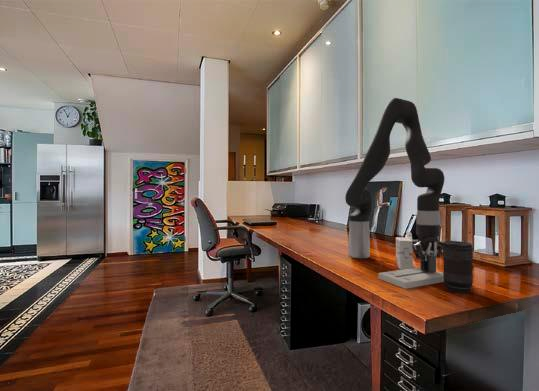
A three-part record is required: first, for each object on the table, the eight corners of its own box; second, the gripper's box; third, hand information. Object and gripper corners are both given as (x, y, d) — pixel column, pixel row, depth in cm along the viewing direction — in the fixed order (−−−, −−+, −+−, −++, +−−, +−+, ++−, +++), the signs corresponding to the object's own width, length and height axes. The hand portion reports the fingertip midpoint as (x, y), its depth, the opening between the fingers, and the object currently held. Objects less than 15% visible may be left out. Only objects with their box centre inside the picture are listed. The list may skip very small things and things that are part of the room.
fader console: (378, 278, 105) (378, 272, 105) (421, 271, 113) (421, 266, 113) (405, 288, 94) (405, 282, 94) (450, 280, 102) (450, 274, 102)
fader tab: (420, 270, 107) (420, 253, 107) (426, 269, 108) (426, 253, 108) (430, 273, 104) (430, 256, 104) (436, 272, 105) (436, 255, 105)
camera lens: (445, 283, 98) (444, 239, 98) (474, 288, 93) (474, 242, 93) (440, 290, 92) (440, 243, 92) (471, 296, 87) (471, 246, 87)
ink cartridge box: (395, 264, 125) (395, 230, 125) (407, 264, 124) (407, 230, 124) (399, 269, 117) (399, 233, 116) (413, 270, 116) (413, 233, 115)
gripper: (432, 221, 112) (432, 265, 112) (405, 223, 107) (405, 269, 107) (451, 223, 105) (451, 270, 105) (422, 225, 100) (422, 275, 100)
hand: (428, 270), depth 106 cm, fingers closed on fader tab, 3 cm apart
